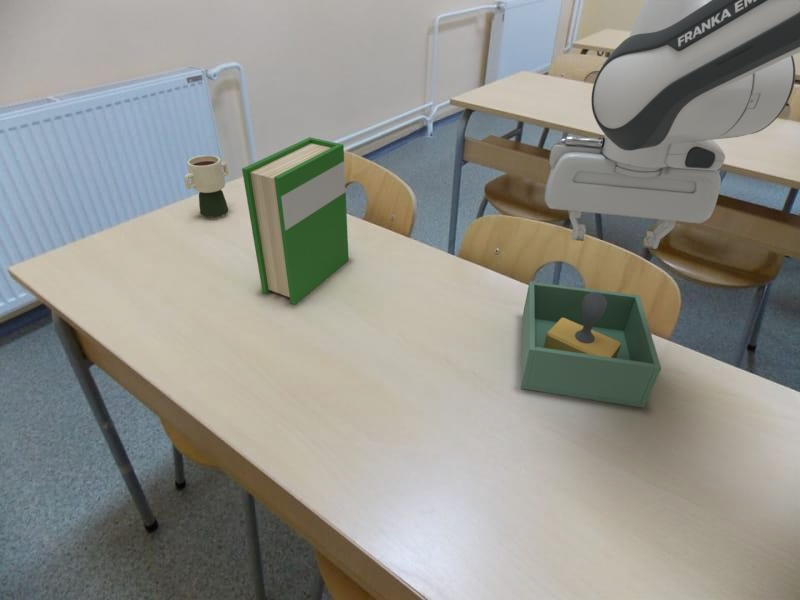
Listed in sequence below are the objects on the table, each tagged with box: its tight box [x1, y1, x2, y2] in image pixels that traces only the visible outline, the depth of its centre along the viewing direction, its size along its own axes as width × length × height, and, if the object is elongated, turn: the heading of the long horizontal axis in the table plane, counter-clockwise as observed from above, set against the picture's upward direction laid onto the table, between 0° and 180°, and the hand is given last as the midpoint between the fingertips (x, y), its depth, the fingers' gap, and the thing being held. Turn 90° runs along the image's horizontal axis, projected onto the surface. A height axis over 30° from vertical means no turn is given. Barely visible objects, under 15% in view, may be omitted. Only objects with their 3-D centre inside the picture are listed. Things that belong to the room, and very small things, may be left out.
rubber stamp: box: [543, 292, 621, 358], centre depth 79 cm, size 10×6×12 cm, turn 50°
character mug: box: [183, 154, 229, 218], centre depth 117 cm, size 11×7×13 cm, turn 142°
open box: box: [520, 281, 662, 409], centre depth 81 cm, size 18×18×8 cm
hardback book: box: [241, 136, 350, 305], centre depth 94 cm, size 18×7×24 cm, turn 151°
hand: (613, 242), depth 70 cm, fingers open, 8 cm apart
